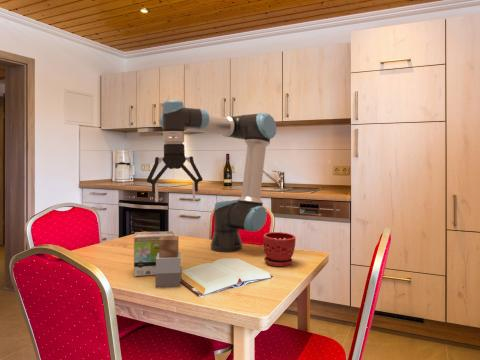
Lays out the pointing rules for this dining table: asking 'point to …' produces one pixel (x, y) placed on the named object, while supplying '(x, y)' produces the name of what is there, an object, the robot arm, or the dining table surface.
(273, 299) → the dining table surface
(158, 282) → the dark grey block
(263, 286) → the dining table surface
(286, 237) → the plant pot
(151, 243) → the tea box
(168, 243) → the walnut cube
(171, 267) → the grey square block
